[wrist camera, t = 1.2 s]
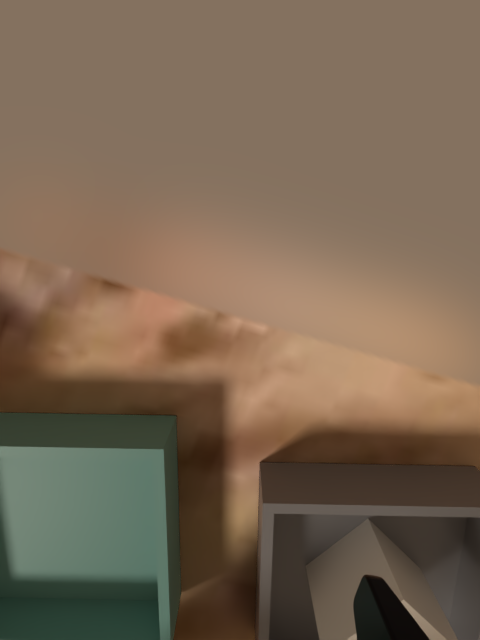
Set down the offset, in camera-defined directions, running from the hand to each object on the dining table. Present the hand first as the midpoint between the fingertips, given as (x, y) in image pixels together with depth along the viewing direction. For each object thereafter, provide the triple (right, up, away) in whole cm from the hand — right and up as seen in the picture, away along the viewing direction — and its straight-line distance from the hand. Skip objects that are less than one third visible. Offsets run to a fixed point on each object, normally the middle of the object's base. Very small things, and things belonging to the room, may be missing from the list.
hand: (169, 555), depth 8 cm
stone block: (+9, -10, +14) cm, 20 cm away
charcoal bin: (+9, -10, +15) cm, 20 cm away
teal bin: (-9, -6, +15) cm, 18 cm away
